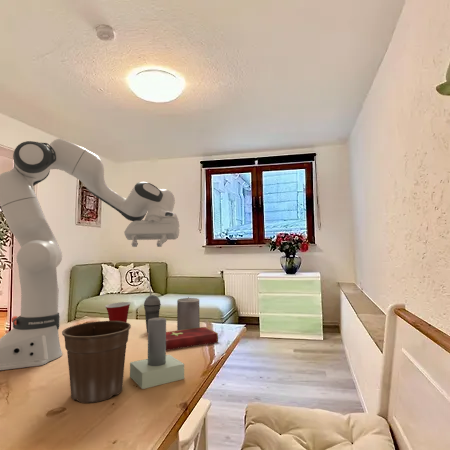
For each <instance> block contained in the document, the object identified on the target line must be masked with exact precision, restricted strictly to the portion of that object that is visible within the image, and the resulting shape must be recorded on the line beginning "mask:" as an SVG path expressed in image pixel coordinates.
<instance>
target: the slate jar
mask: <svg viewBox="0 0 450 450" xmlns="http://www.w3.org/2000/svg"><path fill="white" fill-rule="evenodd" d="M166 332H167V317H166V318H165V317H159V318H151V319H148V333H147V359H148V365H150V366H161V365H164V364H165V363H166V355H167V350H166Z"/></svg>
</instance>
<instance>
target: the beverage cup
mask: <svg viewBox="0 0 450 450" xmlns="http://www.w3.org/2000/svg"><path fill="white" fill-rule="evenodd" d="M148 286H149V295H148V296H147V297H146V298H145V299H144V303H143V306H144V307H143V308H144V314H145V326H146V333H147V334H148V319H151V318H160V309H161V300H160V298H159V297H158V296H157V295H152V289H151V287H152V286H151V285H150V284H149V285H148Z"/></svg>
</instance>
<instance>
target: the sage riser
mask: <svg viewBox="0 0 450 450" xmlns="http://www.w3.org/2000/svg"><path fill="white" fill-rule="evenodd" d="M129 378H130V379H132V381H133V382H134V383H136V385H138V387H139V388H140V389H142V390H144V389H149V388H153V387H156V386H160V385H165V384H169V383H173V382H176V381H181V380H184V379H185V363H183V362H182V361H181V360H179V359H177V358H175V357H174V356H173V355H171V354H166V363H165V364H164V365H161V366H150V365H148V358H145V359H140V360H135V361H130V363H129Z"/></svg>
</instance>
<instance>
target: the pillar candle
mask: <svg viewBox="0 0 450 450" xmlns="http://www.w3.org/2000/svg"><path fill="white" fill-rule="evenodd" d="M176 304H177V312H176V313H177V316H176V317H177V318H176V319H177V322H176V323H177V325H176V328H177V330H185V329H192V328H200V327H201V326H200V324H201V323H200V299H199V298H195V297H190V296H187V297H185V298H180V299H179V298H178V299H177V303H176ZM177 330H176V331H177Z"/></svg>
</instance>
